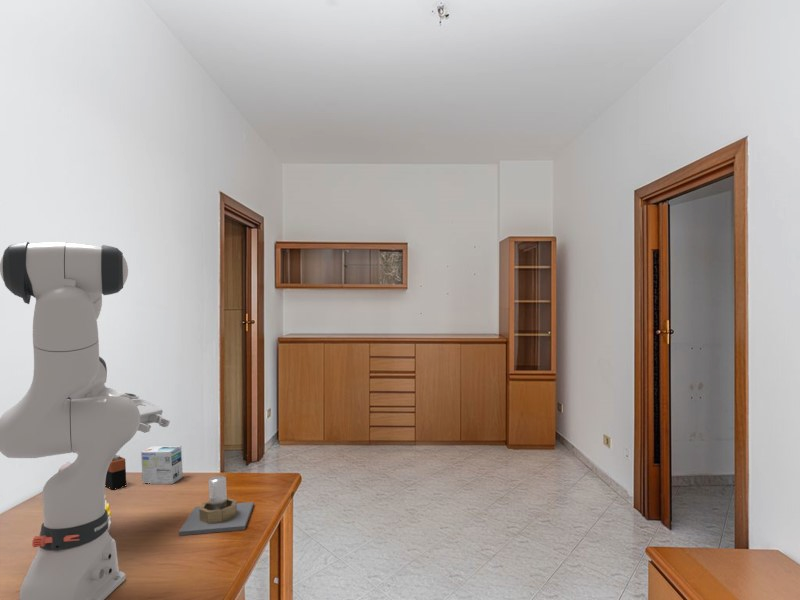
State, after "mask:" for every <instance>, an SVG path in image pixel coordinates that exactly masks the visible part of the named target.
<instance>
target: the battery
mask: <svg viewBox="0 0 800 600" xmlns="http://www.w3.org/2000/svg"><path fill="white" fill-rule="evenodd" d="M126 468H127V467H126V458H124V457H122V456H121V455H119V454H118V455H117V454H116V455H115V456H114V458H113V460H112V461H111V463H110V465H109V468H108V471H107V475H106V481H105V485H106V486H108V487H110V488H112V489H115V488H118V489H120V488H119V487H122V486H125V485H126V486H127V472H126V470H127V469H126ZM106 486H105V487H106ZM126 486H125V487H126ZM108 487H107V488H108ZM110 488H109V489H110ZM122 488H123V487H122ZM112 489H111V490H112ZM115 490H116V489H115Z"/></svg>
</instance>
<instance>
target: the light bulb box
mask: <svg viewBox="0 0 800 600" xmlns="http://www.w3.org/2000/svg"><path fill="white" fill-rule="evenodd" d="M182 452H183V451H182V446H181V445H171V446H169V445H168V446H167V445H163V446H161V445H158V446H155V445H154V446H153V445H151V446H150V447H148V448H146V449H144V450H141V452H140V453H141V454H140V455H141V457H140V458H141V474H142V477H141V478H142V480H141V481H142V484H143V483H148V484H147V485H155V484H156V485H172V484H175V483H176V482H178V481H180V479H182V478H184V476H183V474H184V473H183V457H182V455H183V454H182ZM149 483H150V484H149Z"/></svg>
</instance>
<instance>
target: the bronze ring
mask: <svg viewBox="0 0 800 600" xmlns="http://www.w3.org/2000/svg"><path fill="white" fill-rule="evenodd" d="M237 503H238V501H237V500H236V499H233V498H230V497H227V507H226V508H224V509H221V510H210V505H209V500H208V501H205V502H202V503H201V505H200V506H201V507H200V508H199V518H200V521H203V522H205V523H207V524H209V523H220V522H224V521H227V520H229V519H232V518H234V517H235V515H236V513H237Z"/></svg>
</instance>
